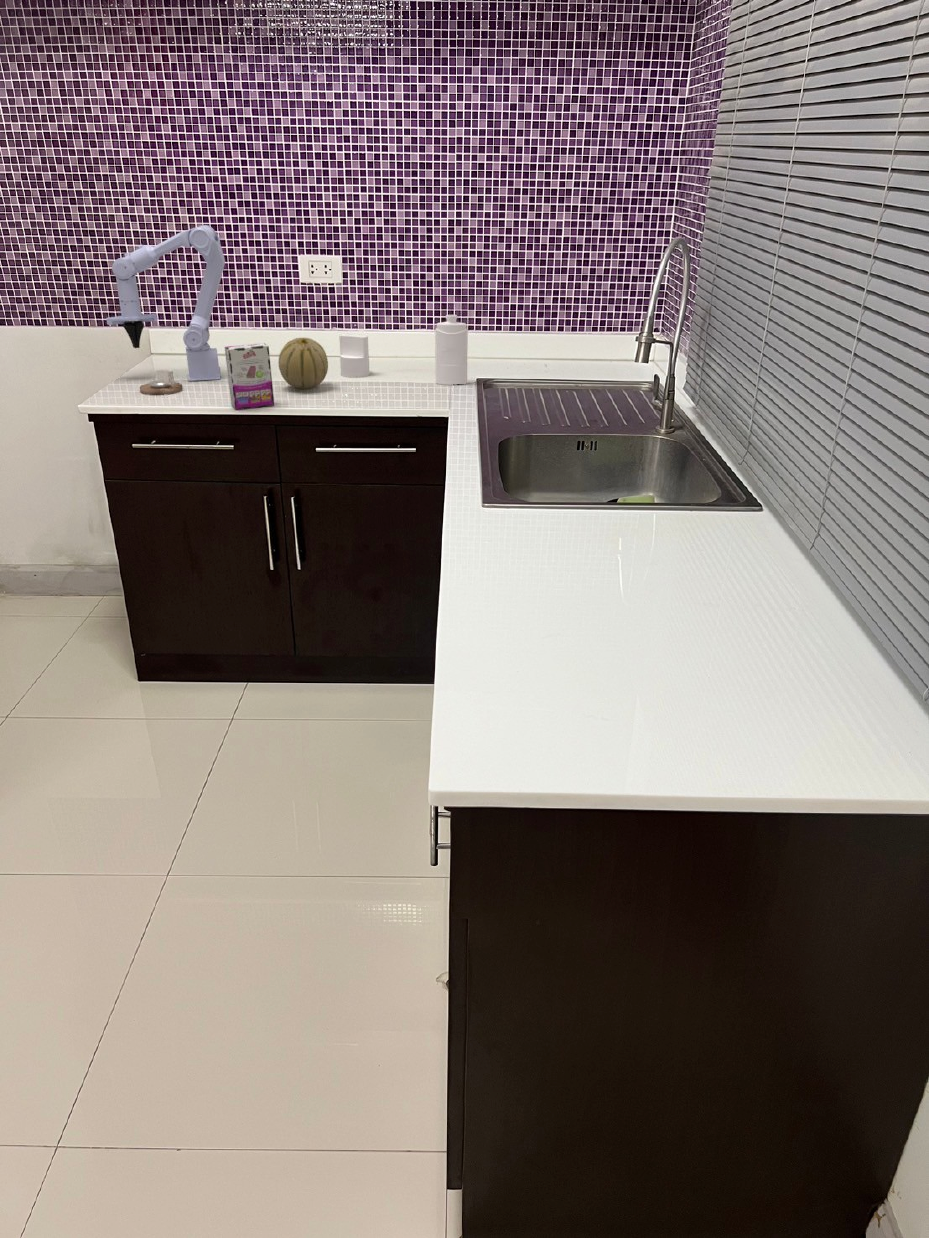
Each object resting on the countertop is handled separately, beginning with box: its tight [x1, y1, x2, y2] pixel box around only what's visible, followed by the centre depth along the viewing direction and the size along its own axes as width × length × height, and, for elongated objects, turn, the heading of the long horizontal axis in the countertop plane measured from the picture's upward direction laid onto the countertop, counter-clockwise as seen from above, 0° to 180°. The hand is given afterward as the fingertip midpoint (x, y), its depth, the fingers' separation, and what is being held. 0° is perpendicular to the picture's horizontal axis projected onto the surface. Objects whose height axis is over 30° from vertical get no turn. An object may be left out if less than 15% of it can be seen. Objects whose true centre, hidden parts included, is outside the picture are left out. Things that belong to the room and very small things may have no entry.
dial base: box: [139, 381, 184, 396], centre depth 273 cm, size 12×12×1 cm
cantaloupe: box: [278, 337, 329, 390], centre depth 274 cm, size 15×15×15 cm
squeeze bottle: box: [434, 314, 469, 386], centre depth 280 cm, size 10×20×5 cm
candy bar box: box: [224, 342, 275, 411], centre depth 254 cm, size 11×5×16 cm, turn 117°
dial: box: [149, 369, 175, 388], centre depth 271 cm, size 8×6×4 cm
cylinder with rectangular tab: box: [339, 333, 371, 379], centre depth 292 cm, size 9×9×12 cm
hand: (136, 347), depth 283 cm, fingers closed
